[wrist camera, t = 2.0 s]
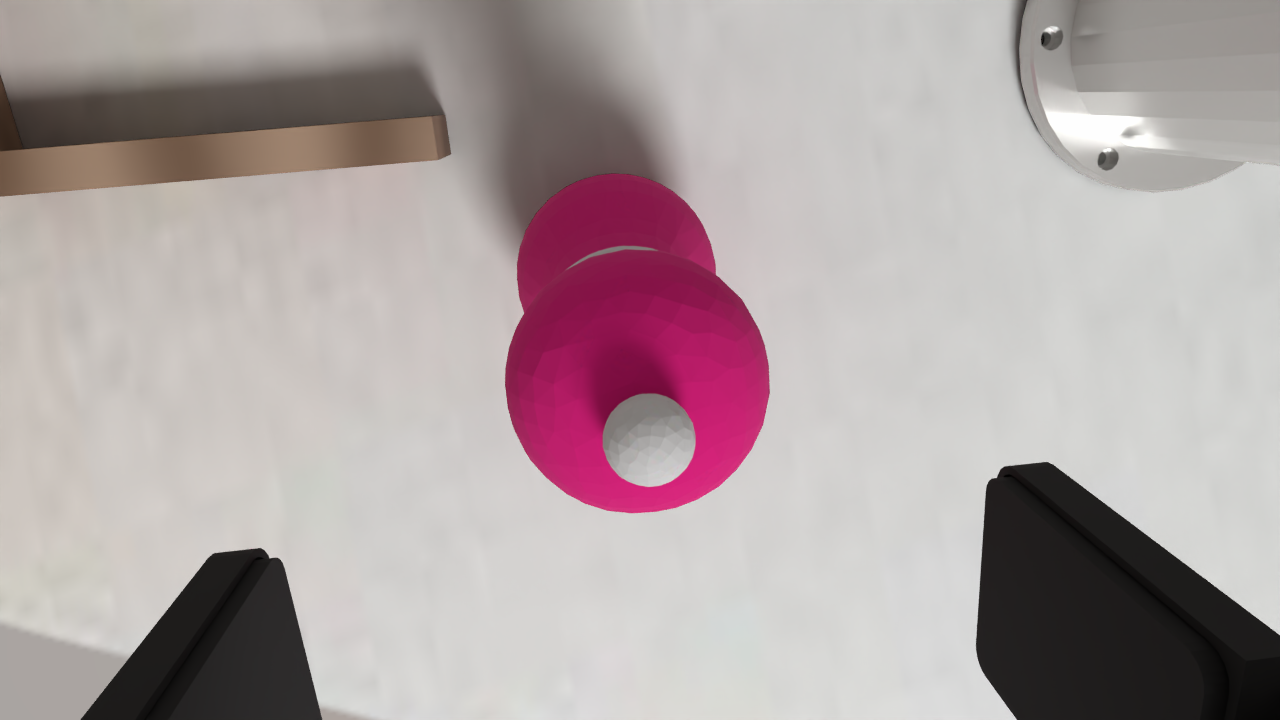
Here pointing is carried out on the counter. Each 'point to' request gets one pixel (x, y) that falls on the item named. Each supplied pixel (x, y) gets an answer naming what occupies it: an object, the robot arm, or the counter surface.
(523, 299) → the pepper mill
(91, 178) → the spice rack
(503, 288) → the counter surface
